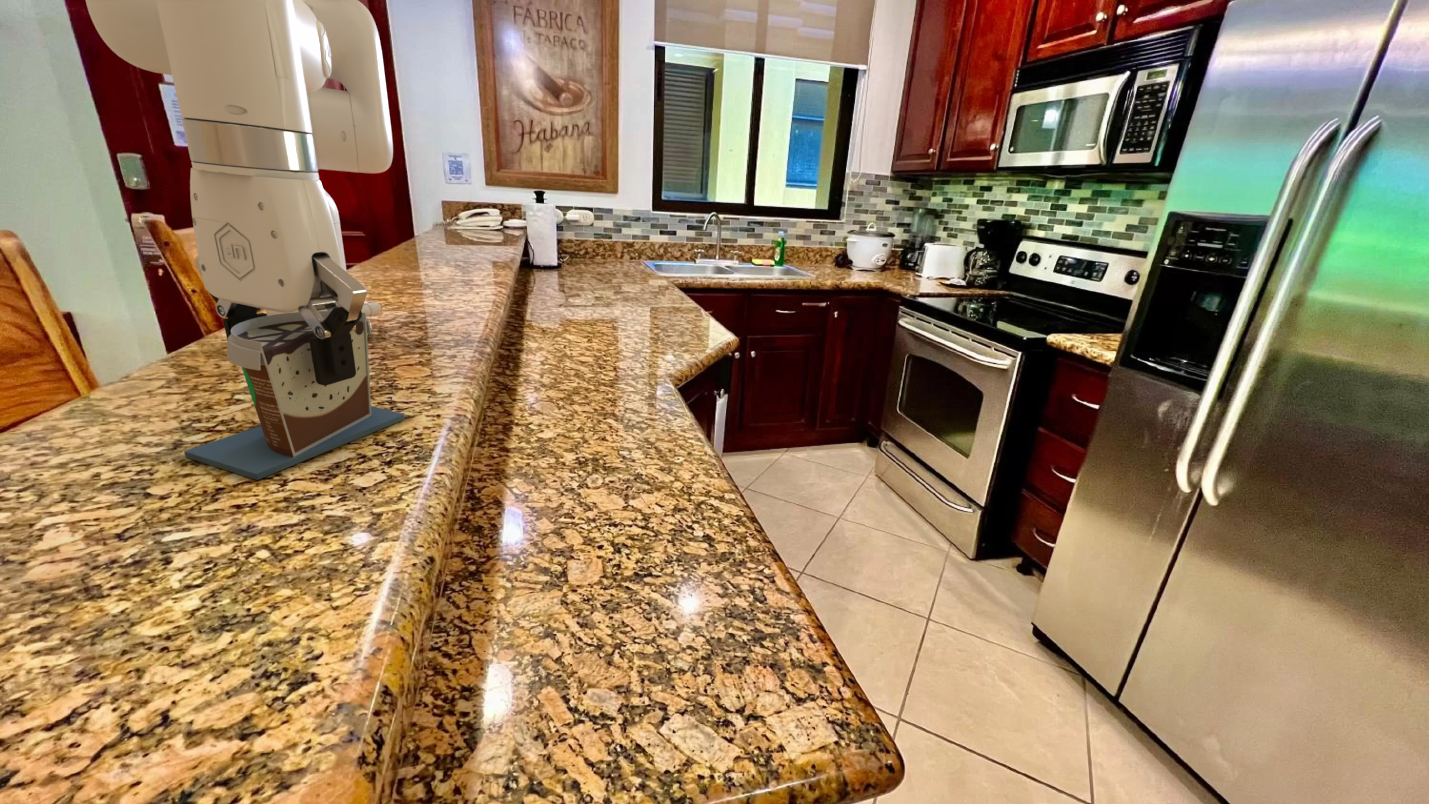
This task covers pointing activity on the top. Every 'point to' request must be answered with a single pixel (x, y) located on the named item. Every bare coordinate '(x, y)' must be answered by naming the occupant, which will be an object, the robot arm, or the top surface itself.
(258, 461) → the pad
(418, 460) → the top surface
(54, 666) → the top surface
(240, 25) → the robot arm
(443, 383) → the top surface
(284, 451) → the food container
